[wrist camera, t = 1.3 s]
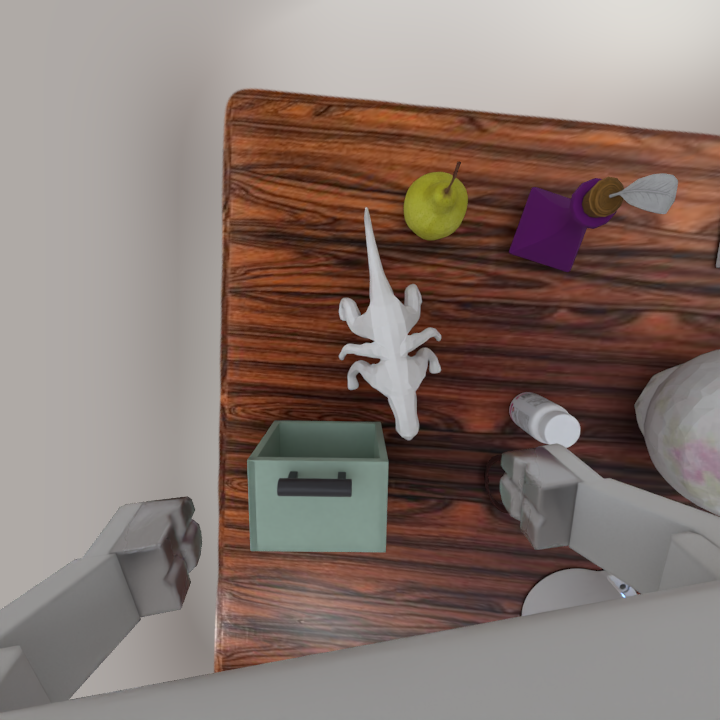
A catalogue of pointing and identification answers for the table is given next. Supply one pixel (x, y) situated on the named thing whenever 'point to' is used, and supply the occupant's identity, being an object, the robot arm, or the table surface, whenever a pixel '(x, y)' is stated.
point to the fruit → (435, 205)
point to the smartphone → (718, 258)
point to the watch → (489, 464)
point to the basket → (319, 487)
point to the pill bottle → (544, 419)
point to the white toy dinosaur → (389, 342)
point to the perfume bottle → (582, 215)
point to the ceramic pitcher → (685, 427)
